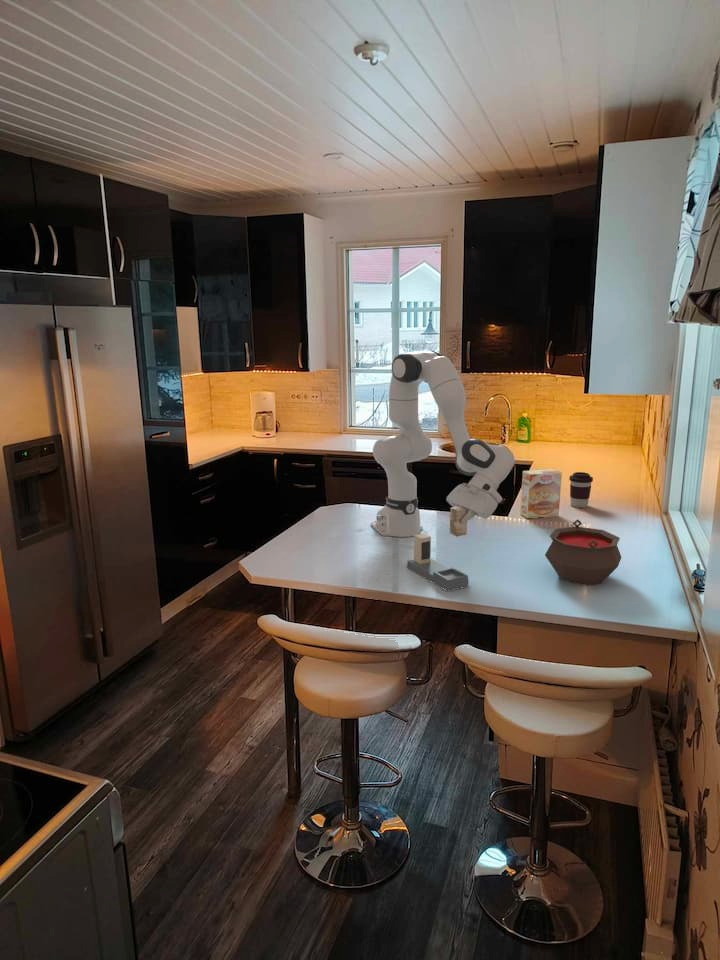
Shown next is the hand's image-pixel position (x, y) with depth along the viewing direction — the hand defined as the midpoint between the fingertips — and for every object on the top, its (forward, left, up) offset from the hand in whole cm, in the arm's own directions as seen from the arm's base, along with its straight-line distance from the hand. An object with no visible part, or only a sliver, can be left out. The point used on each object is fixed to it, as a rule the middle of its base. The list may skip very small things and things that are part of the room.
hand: (456, 520), depth 213 cm
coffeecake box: (-30, +67, -17) cm, 76 cm away
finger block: (0, +1, -5) cm, 5 cm away
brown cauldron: (+27, +30, -17) cm, 44 cm away
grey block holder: (+4, -11, -16) cm, 20 cm away
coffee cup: (-33, +93, -17) cm, 100 cm away
